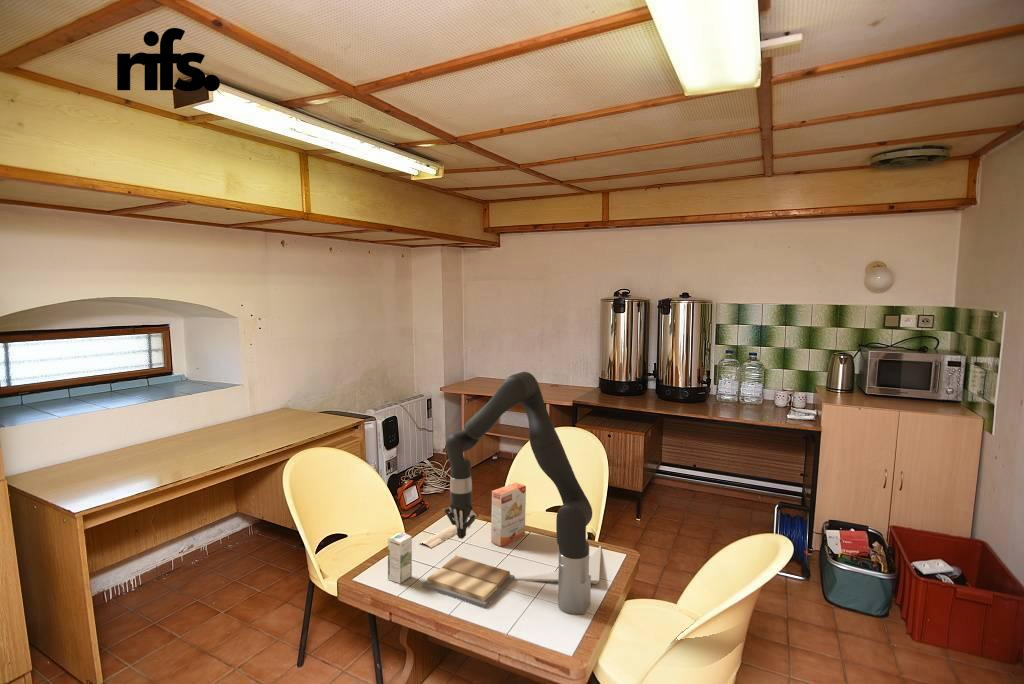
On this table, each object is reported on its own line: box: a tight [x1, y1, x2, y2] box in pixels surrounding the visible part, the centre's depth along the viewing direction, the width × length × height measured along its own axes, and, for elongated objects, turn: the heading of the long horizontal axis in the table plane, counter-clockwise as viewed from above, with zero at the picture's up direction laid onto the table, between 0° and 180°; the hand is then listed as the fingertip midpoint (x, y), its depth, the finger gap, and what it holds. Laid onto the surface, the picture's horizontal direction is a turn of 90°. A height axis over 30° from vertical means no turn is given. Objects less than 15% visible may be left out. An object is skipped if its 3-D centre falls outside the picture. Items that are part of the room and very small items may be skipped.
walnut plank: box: [442, 555, 511, 588], centre depth 174 cm, size 22×8×2 cm, turn 61°
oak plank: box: [426, 566, 497, 601], centre depth 167 cm, size 22×8×2 cm, turn 61°
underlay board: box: [422, 574, 516, 609], centre depth 171 cm, size 24×19×1 cm
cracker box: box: [490, 482, 527, 548], centre depth 202 cm, size 14×6×21 cm, turn 136°
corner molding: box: [513, 545, 602, 585], centre depth 185 cm, size 30×2×30 cm
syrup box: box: [387, 532, 413, 585], centre depth 173 cm, size 6×6×14 cm
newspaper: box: [419, 525, 457, 549], centre depth 206 cm, size 24×7×2 cm, turn 145°
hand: (461, 537), depth 178 cm, fingers closed
